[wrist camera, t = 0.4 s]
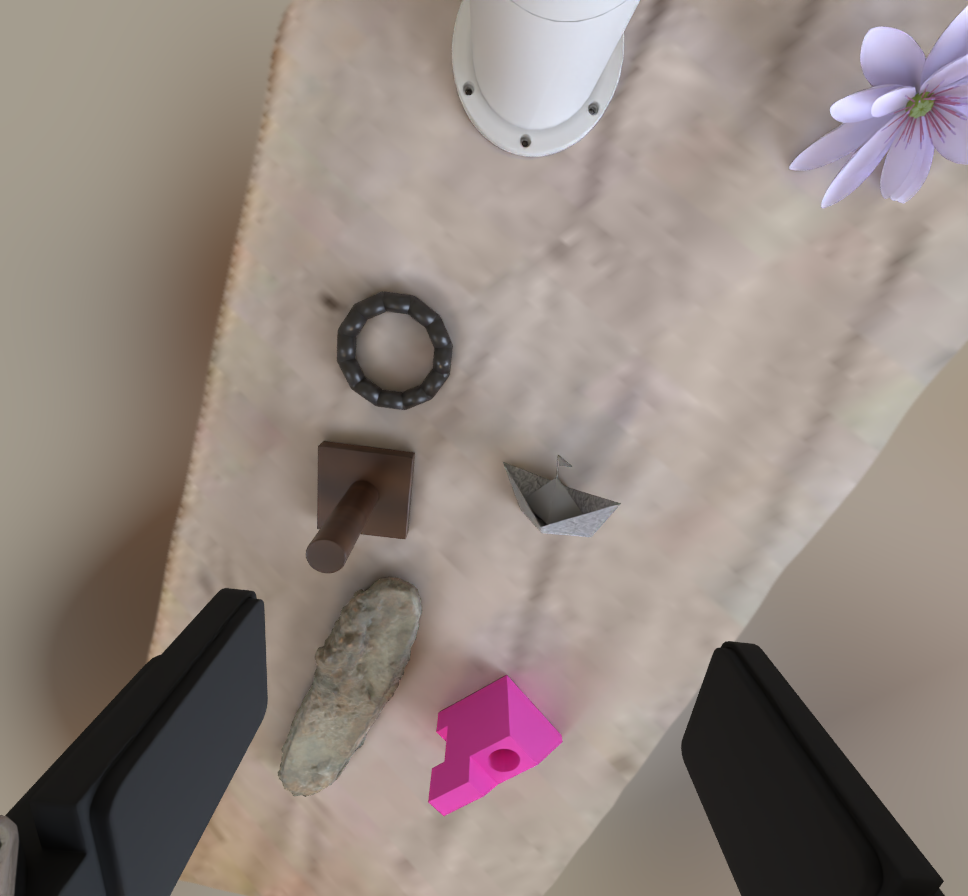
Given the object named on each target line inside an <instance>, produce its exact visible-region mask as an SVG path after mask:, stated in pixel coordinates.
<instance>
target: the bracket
mask: <svg viewBox="0 0 968 896" xmlns="http://www.w3.org/2000/svg"><path fill="white" fill-rule="evenodd" d="M436 732H437V733H438V734H439V735H440V736H441V737H442V738H443V739H444V740H445V741H446V752H445V762H443V763H441V764H439V765H438V766H436V767H434V768H432V774H431V782H430V791H429V800H428V802H429V803H430V804H431V805H432V806H433V807H434V808H435V809H436V810H437V811H439V812H440V813H441V814H442V815H443V816H445V815H447V814H449V813H451V812H453V811H455V810H457V809H459V808H461V807H463V806H465V805H467V804H469V803H471V802H473V801H475V800H477V799H479V798H481V797H483V796H485V795H486V794H487V793H488V792H490V791H491V790H492V789H493V788H494V787H495V786H497V785H498V784H500V783H502V782H504V781H506V780H508V779H510V778H512V777H514V776H516V775H518V774H520V773H522V772H524V771H526V770H528V769H530V768H532V767H534V766H536V765H538V764H539V763H540V762H541V761H542V760H543V759H544V758H546V757H547V756H548V755H549V754H550V753H551V752H552V751H553V750H554V749H555V748H556V747H557V746H558V745H560V744H561V743H562V736H561V734H560V733H559V732H558V731H557V730H556V729H555V728H554V727H553V725H552V724H551V723H550V722H549V721H548V720H547V719H546V718H545V717H544V716H543V714H542V713H541V712H540V711H539V710H538V709H537V708H536V707H535V706H534V704H533V703H532V702H531V701H530V700H529V699H528V698H527V697H526V696H525V694H524V693H523V692H522V691H521V690H520V689H519V688H518V687H517V686H516V685H515V683H514V682H513V681H512V680H511V679H510V678H509V677H508V676H507V675H506V676H504V677H502V678H500V679H499V680H497V681H495V682H493V683H491V684H490V685H488V686H486V687H484V688H482V689H481V690H479V691H477V692H475V693H473V694H471V695H470V696H468V697H466V698H464V699H462V700H461V701H459V702H457V703H455V704H453V705H451V706H450V707H448V708H446V709H444V710H442V711H441V712H439V713H438V721H437V730H436Z"/></svg>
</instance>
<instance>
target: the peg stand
mask: <svg viewBox="0 0 968 896" xmlns="http://www.w3.org/2000/svg"><path fill="white" fill-rule="evenodd" d="M414 459H415V453H414V452H406V451H398V450H390V449H382V448H374V447H366V446H359V445H351V444H343V443H335V442H327V441H323V442H322V443H321V444H320V445H319V446H318V509H317V529H320V530H319V531H318V533H317V534H316V536H315V537H314V539H313V540H312V541H311V543H310V544H309V546H308V547H307V550H306V558H307V561H308V563H309V564H310V566H311V567H313V568H314V569H315V570H317V571H319V572H322V573H334V572H336V571H338V570H340V569H341V568H342V567H343V566H344V564H345V562H346V560H347V558H348V557H349V555H350V553H351V551H352V549H353V547H354V545H355V543H356V541H357V539H358V537H359V535H360V534H365V535H373V536H382V537H390V538H398V539H406V537H407V534H408V528H409V516H410V505H411V493H412V482H413V470H414Z"/></svg>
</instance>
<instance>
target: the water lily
mask: <svg viewBox="0 0 968 896" xmlns="http://www.w3.org/2000/svg"><path fill="white" fill-rule="evenodd" d="M860 61H861V68H862V71H863V74H864V76H865V77H866V79H867V80H868V82H869V83H870V84H871V85H872V86H873V87H870V88H867V89H863V90H861V91H858V92H856V93H853V94H851V95H848V96H846V97H844V98H842V99H841V100H839V101H837V102H835V103H834V104H832V105H831V107H830V113H831V115H832V117H833V118H834V119H835V120H837V121H839V122H842V123H843V124H841V125H840V126H838V127H836V128H835V129H833V130H831V131H830V132H828V133H827V134H825V135H824V136H822V137H821V138H819V139H818V140H817V141H815V142H814V143H813V144H811V145H810V146H809V147H808V148H806V149H805V150H804V151H803V152H802V153H801V154H800V155H798V156H797V157H796V158H795V159H794V161H793V162H792V163H791V164H790V167H789V169H791V170H796V171H803V170H810V169H815V168H819V167H822V166H824V165H827V164H830V163H832V162H834V161H836V160H838V159H840V158H842V157H844V156H846V155H848V154H849V153H851V152H853V151H854V150H856V149H857V148H859V147H860V146H861V147H860V148H859V149H858V150H857V151H856V152H855V153H854V154H853V156H852V157H851V158H850V159H849V160H848V161H847V163H846V164H845V165H844V166H843V168H842V169H841V170H840V172H839V173H838V174H837V176H836V177H835V179H834V180H833V182H832V183H831V185H830V187H829V188H828V190H827V192H826V194H825V196H824V198H823V200H822V203H821V208H826V207H828V206H831V205H833V204H835V203H837V202H839V201H840V200H842V199H843V198H845V197H846V196H847V195H849V194H850V193H851V192H853V191H854V190H855V189H856V188H857V187H858V186H859V185H860V184H861V183H862V182H863V181H864V180H865V179H866V178H867V177H868V176H869V175H870V174H871V173H872V171H873V170H874V169H875V168H876V167H877V165H878V164H879V163H880V161H881V160H882V158H883V157H884V155H885V154H886V153H887V151H888V150H889V151H888V154H887V156H886V160H885V163H884V166H883V170H882V174H881V182H880V188H881V194H882V196H883V198H885V199H887V198H889V197H890V198H891V199H892V200H894V201H895V200H897V201H898V202H900V203H905V202H907V201H908V200H909V199H911V198H912V197H913V196H914V195H915V194H916V193H917V191H918V190H919V189H920V188H921V186H922V185H923V183H924V181H925V180H926V178H927V176H928V173H929V170H930V167H931V163H932V159H933V154H934V147H935V149H936V150H937V151H938V152H939V153H940V154H941V155H942V156H943V157H944V158H946V159H948V160H950V161H952V162H955V163H958V164H968V6H967V7H966V8H965V9H964V10H963V11H962V12H961V13H960V14H959V15H958V16H957V17H956V18H955V19H954V20H953V21H952V22H951V23H950V25H949V26H948V27H947V28H946V29H945V31H944V32H943V33H942V35H941V36H940V37H939V39H938V40H937V42H936V43H935V45H934V46H933V48H932V50H931V51H930V53H929V55H928V57H927V58H925V54H924V52H923V51H922V49H921V48H920V46H919V45H918V44H917V42H916V41H915V40H914V39H913V38H912V37H911V36H910V35H908V34H907V33H905V32H903V31H901V30H899V29H896V28H891V27H885V26H883V27H873V28H871V29H869V31H868V32H867V33H866V35H865V38H864V40H863V43H862V48H861V53H860ZM908 117H909V118H908ZM889 148H890V149H889Z"/></svg>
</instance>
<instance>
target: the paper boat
mask: <svg viewBox="0 0 968 896" xmlns="http://www.w3.org/2000/svg"><path fill="white" fill-rule="evenodd" d="M503 464H504V466H505V469H506V472H507V474H508V477H509V480H510V482H511V485H512V488H513V490H514V493H515V496H516V498H517V501H518V504H519V506H520V509H521V511H522V512H523V513H524V514H525V515H526V516H527V517H528V518H529V520H530V521H531V522H532V523H533V524H534V525H535V526H536V527H537V529H538V530H539V531H540V532H541V533H547V534H560V535H572V536H585V537H592V536H593V535H594V533H595V532H596V531H597V530H598V529H599V528H600V527H601V525H602V524H603V523H604V522H605V521H606V520H607V519H608V518H609V516H610V515H611V514H612V513H613V512H614V511H615V510H616V509H617V507H618V506H619V505H620V504H621V503H618V502H614V501H611V500H608V499H604V498H601V497H598V496H594V495H591V494H588V493H584V492H581V491H578V490H575V489H571V488H568V487H566V486H563V485H562V483H561V482H560V480H559V479H558V466H567V467H572V466H571V465H570V464H569V463H568V462H566V461H565V460H564V459H563V458H561V457H560V456H559V455H558V459H557V477H556V478H555V479H553V480H552V481H551V480H548V479H545V478H543V477H540V476H538V475H535V474H533V473H530V472H528V471H525V470H523V469H520V468H518V467H515V466H512V465H510V464H507V463H505V462H503Z"/></svg>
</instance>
